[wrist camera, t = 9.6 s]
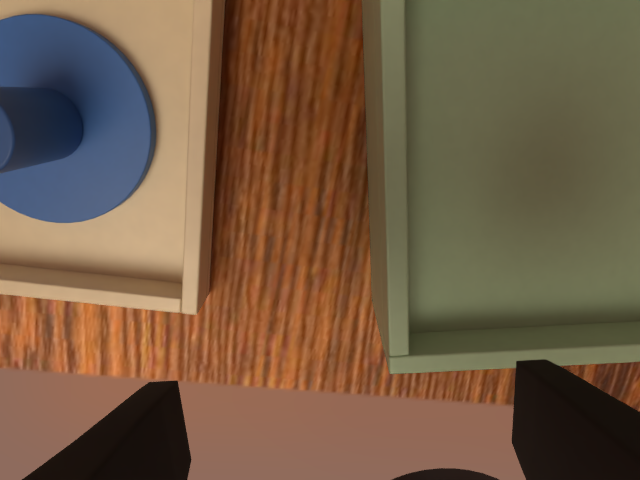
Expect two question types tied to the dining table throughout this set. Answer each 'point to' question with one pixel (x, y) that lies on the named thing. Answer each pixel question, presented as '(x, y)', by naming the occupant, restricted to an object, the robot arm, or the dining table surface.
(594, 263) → the green square tray
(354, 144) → the dining table surface
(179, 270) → the tray
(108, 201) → the blue lid
